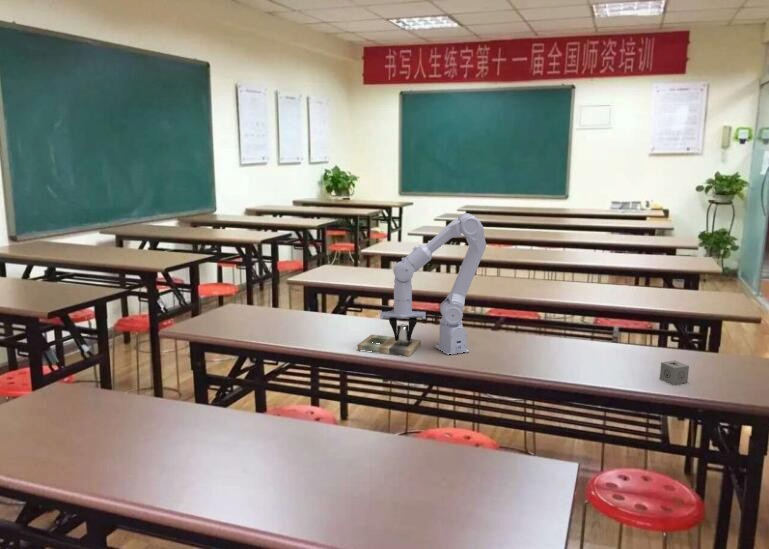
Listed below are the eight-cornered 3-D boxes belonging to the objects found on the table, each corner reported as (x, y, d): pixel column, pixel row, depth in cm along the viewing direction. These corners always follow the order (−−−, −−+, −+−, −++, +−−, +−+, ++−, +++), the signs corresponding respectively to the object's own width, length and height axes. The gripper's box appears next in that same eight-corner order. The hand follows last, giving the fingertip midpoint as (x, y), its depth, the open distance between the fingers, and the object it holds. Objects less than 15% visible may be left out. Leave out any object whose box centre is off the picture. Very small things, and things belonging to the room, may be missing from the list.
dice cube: (673, 377, 178) (675, 360, 177) (687, 383, 173) (689, 366, 172) (659, 379, 176) (661, 362, 175) (673, 385, 172) (674, 368, 171)
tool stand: (420, 345, 207) (420, 339, 206) (409, 356, 196) (409, 350, 195) (371, 340, 213) (371, 334, 212) (357, 350, 202) (357, 344, 201)
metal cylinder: (410, 350, 202) (410, 326, 200) (399, 351, 200) (399, 327, 199) (405, 347, 205) (405, 323, 203) (395, 348, 203) (395, 325, 202)
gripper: (380, 302, 195) (380, 343, 198) (426, 302, 195) (426, 343, 198) (380, 297, 202) (380, 337, 205) (424, 296, 202) (424, 337, 205)
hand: (402, 340), depth 202 cm, fingers closed on metal cylinder, 4 cm apart
